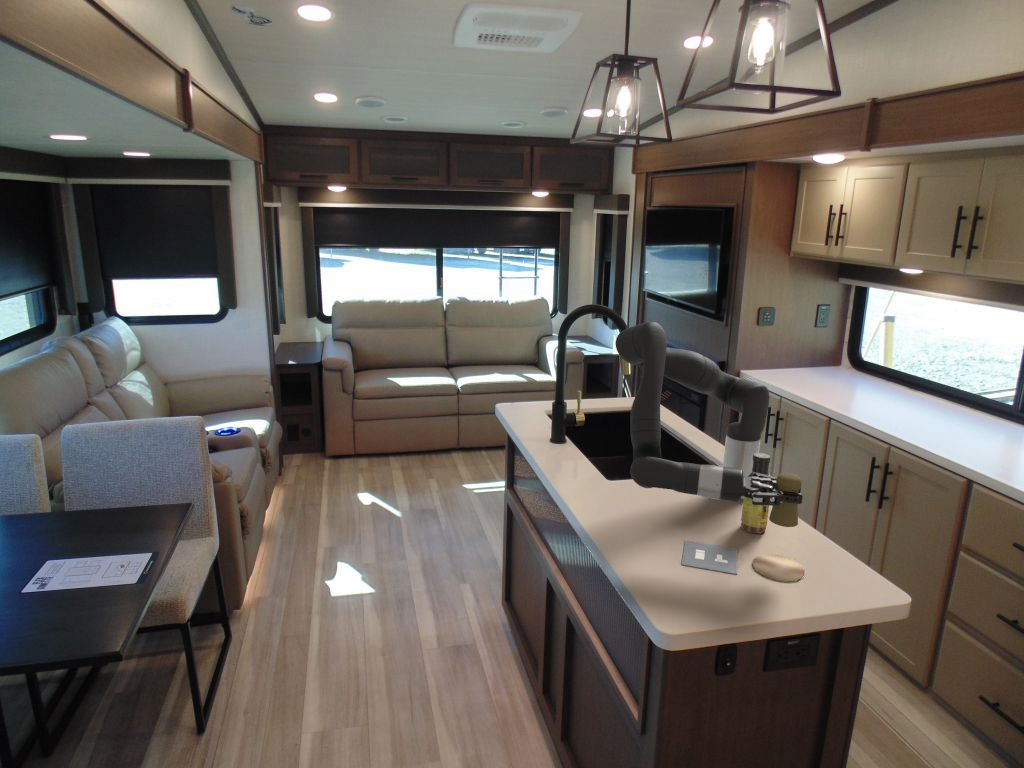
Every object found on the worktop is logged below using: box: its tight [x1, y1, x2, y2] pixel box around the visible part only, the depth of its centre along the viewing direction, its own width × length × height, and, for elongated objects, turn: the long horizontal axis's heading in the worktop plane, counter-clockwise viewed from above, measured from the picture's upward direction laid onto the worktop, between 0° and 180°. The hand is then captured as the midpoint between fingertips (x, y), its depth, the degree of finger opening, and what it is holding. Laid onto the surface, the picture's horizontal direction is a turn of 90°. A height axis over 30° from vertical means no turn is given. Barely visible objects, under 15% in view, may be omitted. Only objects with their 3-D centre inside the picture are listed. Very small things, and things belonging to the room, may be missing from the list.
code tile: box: [681, 540, 738, 575], centre depth 157 cm, size 12×12×1 cm
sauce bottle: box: [740, 452, 771, 534], centre depth 169 cm, size 6×6×20 cm
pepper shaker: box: [768, 472, 803, 528], centre depth 148 cm, size 6×6×11 cm
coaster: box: [752, 553, 805, 583], centre depth 152 cm, size 11×11×1 cm
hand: (800, 494), depth 147 cm, fingers closed on pepper shaker, 4 cm apart
